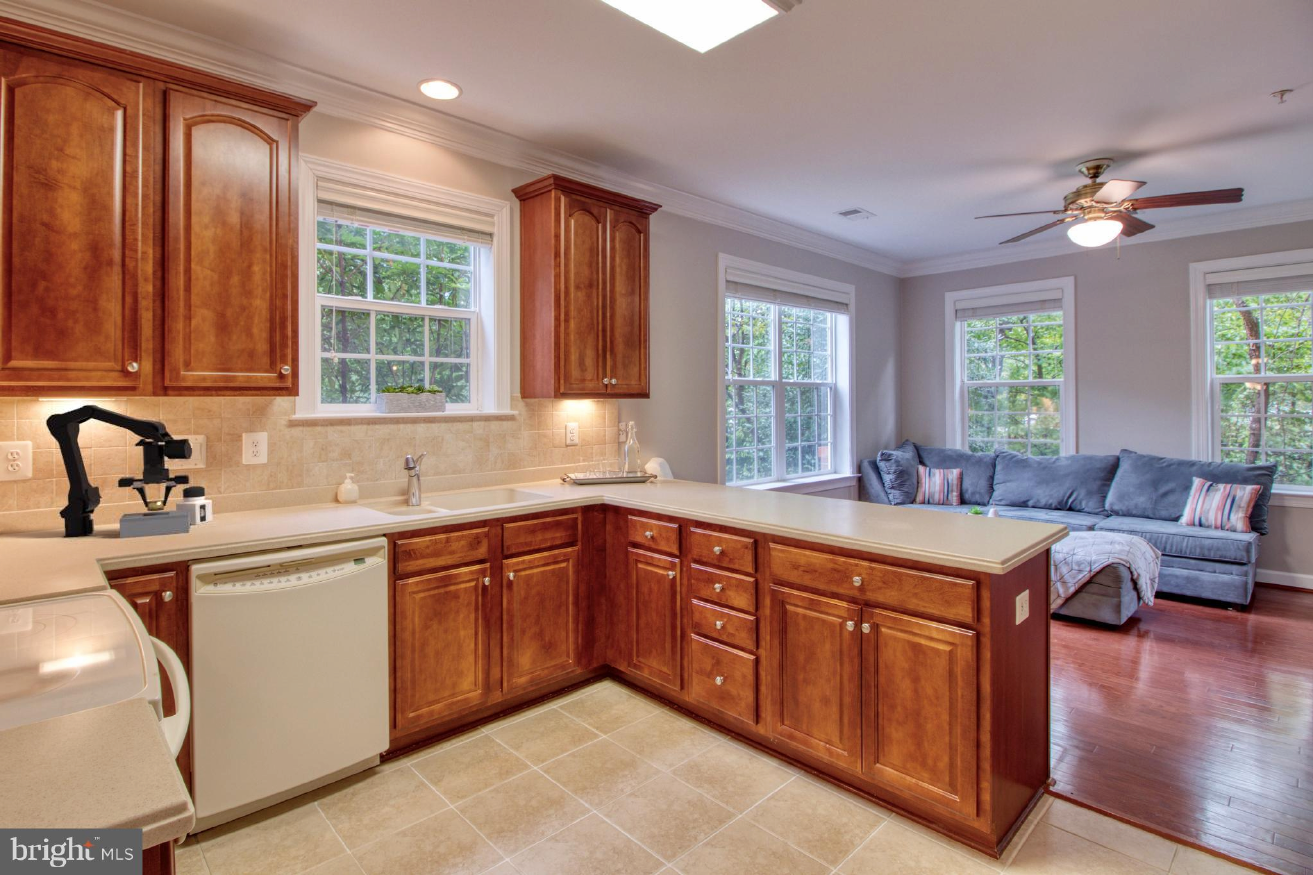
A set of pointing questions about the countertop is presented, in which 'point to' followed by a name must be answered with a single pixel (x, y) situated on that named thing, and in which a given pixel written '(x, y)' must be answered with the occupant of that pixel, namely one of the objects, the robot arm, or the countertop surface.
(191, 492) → the container
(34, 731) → the countertop surface
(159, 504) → the gold short cylinder
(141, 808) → the countertop surface
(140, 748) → the countertop surface
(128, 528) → the box
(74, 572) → the countertop surface
